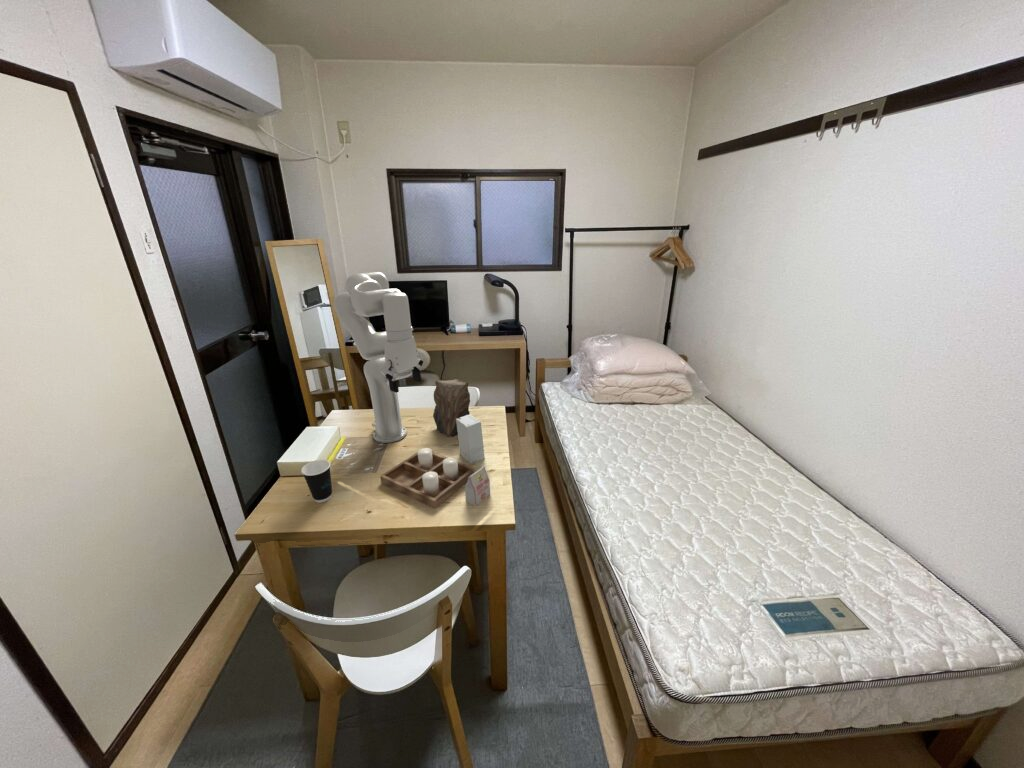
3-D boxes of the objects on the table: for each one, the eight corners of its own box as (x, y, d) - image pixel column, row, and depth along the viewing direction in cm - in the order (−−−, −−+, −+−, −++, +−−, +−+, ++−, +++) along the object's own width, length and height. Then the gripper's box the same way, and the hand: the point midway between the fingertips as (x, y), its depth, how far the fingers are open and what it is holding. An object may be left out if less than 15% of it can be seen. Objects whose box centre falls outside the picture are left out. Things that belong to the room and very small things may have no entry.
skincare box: (485, 460, 141) (483, 422, 135) (469, 465, 138) (466, 427, 132) (473, 449, 147) (471, 412, 142) (458, 454, 144) (455, 417, 139)
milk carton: (466, 503, 120) (463, 475, 116) (481, 491, 125) (479, 464, 121) (475, 508, 118) (473, 479, 114) (490, 496, 123) (489, 468, 119)
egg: (421, 494, 123) (418, 477, 121) (431, 486, 127) (429, 469, 124) (432, 499, 121) (430, 482, 118) (442, 490, 124) (441, 474, 122)
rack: (381, 485, 129) (380, 475, 128) (424, 457, 144) (423, 448, 142) (435, 510, 117) (434, 501, 116) (476, 477, 132) (475, 468, 130)
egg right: (441, 478, 130) (439, 462, 128) (450, 471, 134) (449, 456, 131) (452, 483, 128) (450, 467, 125) (461, 475, 131) (460, 460, 129)
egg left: (416, 468, 136) (414, 453, 133) (426, 461, 139) (424, 446, 137) (426, 472, 133) (424, 457, 131) (436, 465, 137) (434, 450, 135)
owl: (433, 427, 164) (428, 381, 156) (460, 418, 171) (457, 373, 163) (447, 439, 154) (442, 391, 147) (476, 429, 161) (473, 383, 153)
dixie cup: (311, 491, 127) (304, 461, 122) (338, 487, 128) (332, 457, 124) (306, 508, 120) (298, 476, 115) (335, 503, 121) (328, 472, 117)
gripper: (411, 326, 132) (417, 375, 139) (368, 339, 119) (376, 393, 126) (428, 329, 128) (433, 379, 135) (385, 343, 115) (393, 398, 122)
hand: (406, 386), depth 130 cm, fingers open, 9 cm apart
